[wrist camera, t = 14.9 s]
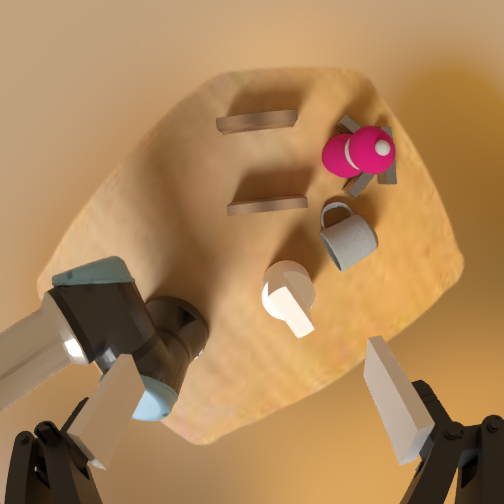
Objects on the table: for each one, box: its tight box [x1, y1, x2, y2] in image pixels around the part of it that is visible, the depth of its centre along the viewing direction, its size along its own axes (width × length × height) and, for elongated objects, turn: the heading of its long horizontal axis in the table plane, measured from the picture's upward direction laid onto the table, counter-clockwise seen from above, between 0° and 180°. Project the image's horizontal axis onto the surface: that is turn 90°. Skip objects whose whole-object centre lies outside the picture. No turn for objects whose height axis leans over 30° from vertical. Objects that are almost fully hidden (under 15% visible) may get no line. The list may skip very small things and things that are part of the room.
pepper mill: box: [322, 126, 395, 178], centre depth 35 cm, size 7×7×20 cm
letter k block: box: [335, 115, 397, 198], centre depth 43 cm, size 9×14×4 cm, turn 7°
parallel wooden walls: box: [216, 109, 308, 216], centre depth 43 cm, size 12×15×7 cm
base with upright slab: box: [262, 260, 316, 338], centre depth 46 cm, size 9×9×12 cm
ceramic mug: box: [320, 202, 378, 272], centre depth 45 cm, size 11×8×8 cm
